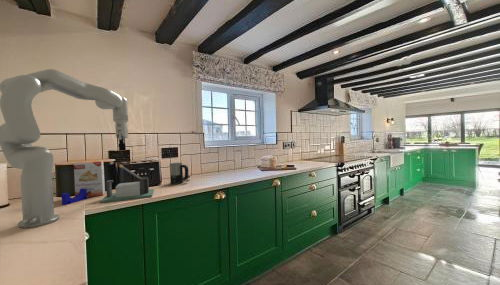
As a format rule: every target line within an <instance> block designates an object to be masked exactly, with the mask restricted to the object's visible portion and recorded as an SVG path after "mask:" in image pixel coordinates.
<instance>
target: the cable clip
mask: <svg viewBox="0 0 500 285" xmlns="http://www.w3.org/2000/svg"><path fill="white" fill-rule="evenodd" d="M87 199H88V197H87V189H80V192H79V194H77V195H76V196H74V197H71V195H70V193H69V192H67V193H66V192H64V193H61V205H63V206H65V205H66V206H68V205H70V204H74V203H78V202H80V201H83V200H87Z"/></svg>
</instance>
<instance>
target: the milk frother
mask: <svg viewBox="0 0 500 285" xmlns="http://www.w3.org/2000/svg"><path fill="white" fill-rule="evenodd" d="M182 163H183V162H170V163H169V175H170V182H169V183H170V184H171V185H179V184H182V183H184V181H186V180H188V179H189V178H191V176H190V175H189V166H188V165H187V164H182ZM183 169H184V171H183ZM183 172H184V173H183ZM183 174H184V175H183Z"/></svg>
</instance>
